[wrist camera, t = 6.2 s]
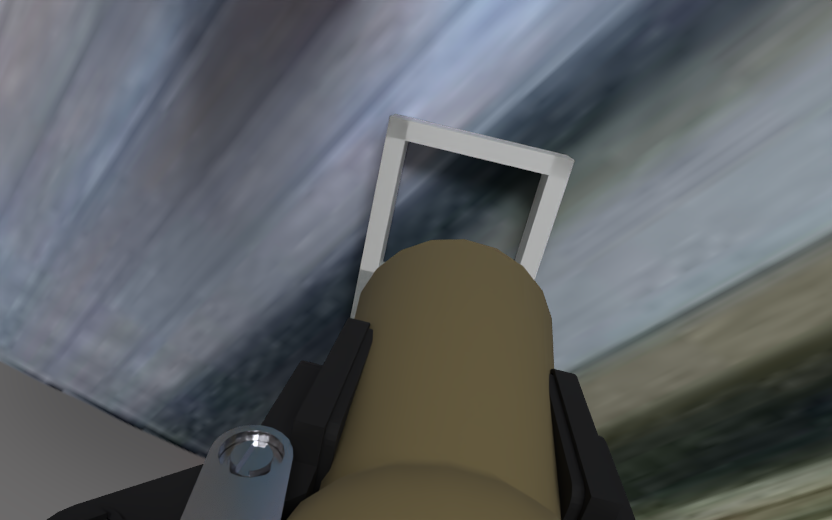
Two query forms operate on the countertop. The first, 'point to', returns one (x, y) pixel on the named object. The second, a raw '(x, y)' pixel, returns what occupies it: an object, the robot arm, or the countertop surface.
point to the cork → (448, 395)
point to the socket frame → (474, 145)
